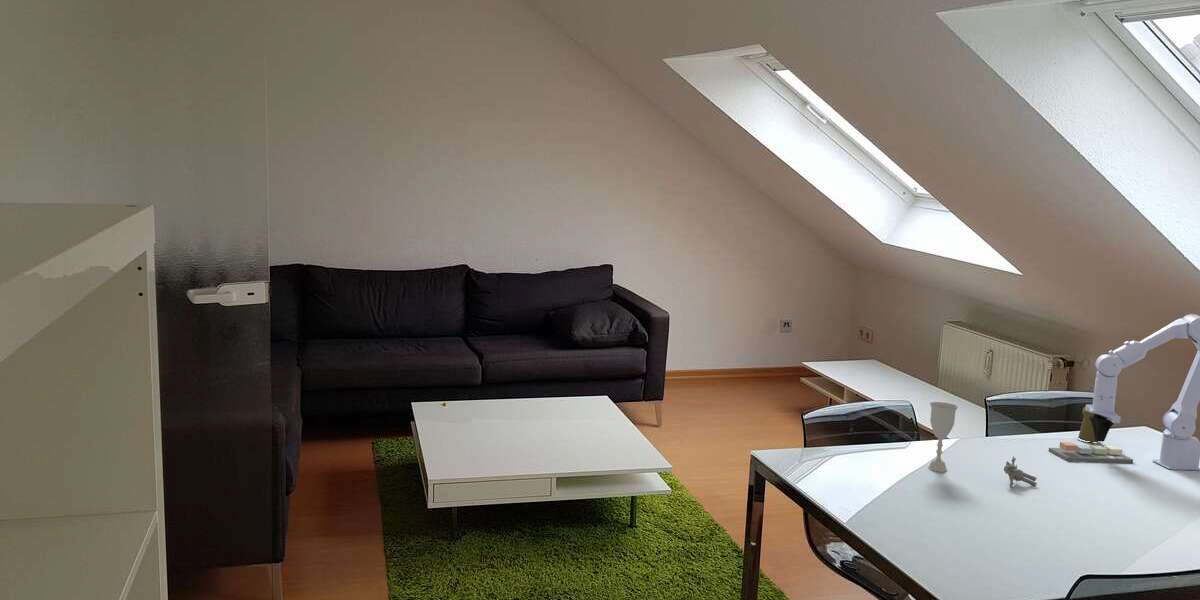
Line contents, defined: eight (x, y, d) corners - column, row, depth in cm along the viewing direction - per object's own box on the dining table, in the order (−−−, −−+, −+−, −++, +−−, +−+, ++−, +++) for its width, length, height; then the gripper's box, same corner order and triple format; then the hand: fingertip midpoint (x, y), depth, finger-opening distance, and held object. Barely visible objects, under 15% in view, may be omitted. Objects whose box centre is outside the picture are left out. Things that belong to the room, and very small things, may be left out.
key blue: (1085, 450, 287) (1085, 445, 287) (1091, 453, 283) (1092, 448, 283) (1074, 450, 287) (1074, 445, 286) (1080, 453, 283) (1081, 448, 283)
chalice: (921, 469, 265) (927, 405, 262) (925, 463, 271) (931, 400, 268) (949, 474, 261) (956, 409, 259) (953, 468, 267) (959, 404, 265)
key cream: (1114, 451, 287) (1115, 446, 287) (1121, 454, 284) (1122, 449, 284) (1103, 451, 287) (1104, 445, 287) (1110, 454, 284) (1111, 449, 284)
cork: (1102, 443, 301) (1106, 409, 299) (1083, 442, 301) (1087, 408, 299) (1093, 438, 307) (1097, 404, 305) (1074, 437, 307) (1078, 403, 305)
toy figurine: (1041, 493, 250) (1008, 479, 250) (1027, 503, 254) (995, 489, 255) (1042, 462, 256) (1011, 448, 256) (1029, 472, 261) (998, 458, 261)
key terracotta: (1070, 447, 286) (1071, 442, 286) (1076, 450, 283) (1077, 445, 283) (1059, 447, 286) (1060, 441, 286) (1065, 450, 283) (1066, 445, 283)
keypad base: (1112, 452, 291) (1113, 448, 291) (1132, 462, 281) (1133, 458, 281) (1048, 450, 290) (1048, 447, 289) (1066, 461, 280) (1067, 457, 280)
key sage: (1099, 451, 287) (1100, 445, 287) (1106, 454, 284) (1107, 449, 284) (1088, 450, 287) (1089, 445, 287) (1095, 454, 284) (1096, 448, 283)
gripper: (1077, 389, 290) (1073, 433, 292) (1105, 401, 276) (1100, 447, 277) (1100, 390, 290) (1095, 434, 292) (1129, 401, 276) (1124, 448, 278)
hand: (1099, 440), depth 285 cm, fingers closed
